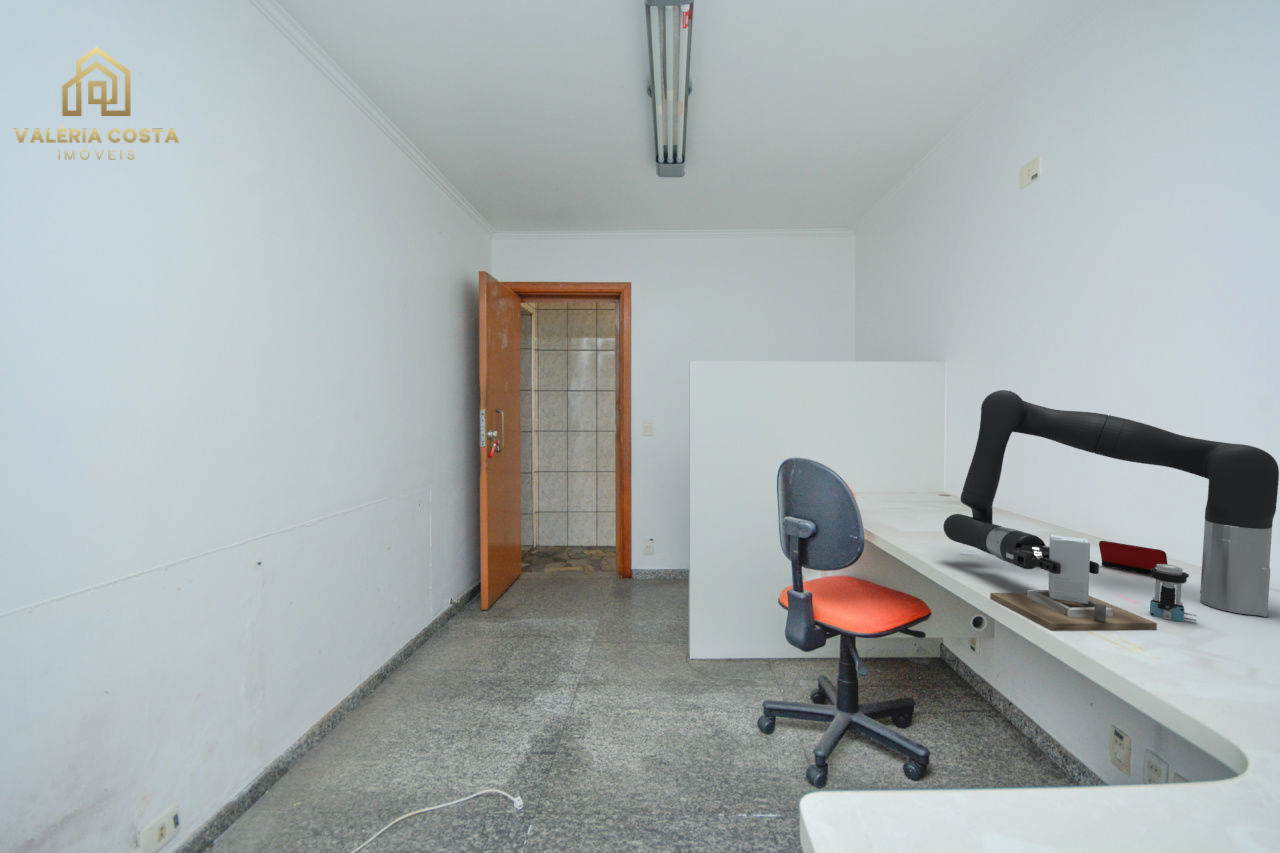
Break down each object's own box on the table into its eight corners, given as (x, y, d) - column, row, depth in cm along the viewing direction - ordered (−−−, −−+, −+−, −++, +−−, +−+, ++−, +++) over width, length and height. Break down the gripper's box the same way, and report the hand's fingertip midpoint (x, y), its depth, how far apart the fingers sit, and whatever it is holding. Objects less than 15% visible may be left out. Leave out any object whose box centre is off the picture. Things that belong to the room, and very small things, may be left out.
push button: (1194, 619, 104) (1198, 568, 104) (1197, 627, 100) (1200, 574, 100) (1147, 610, 109) (1150, 560, 108) (1147, 617, 105) (1150, 566, 104)
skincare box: (1085, 598, 107) (1088, 538, 106) (1088, 605, 103) (1092, 542, 103) (1046, 592, 110) (1049, 533, 110) (1048, 599, 106) (1051, 538, 106)
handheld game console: (1175, 574, 133) (1177, 544, 133) (1164, 582, 127) (1166, 551, 127) (1109, 561, 144) (1111, 534, 143) (1096, 568, 137) (1098, 539, 137)
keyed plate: (1081, 598, 115) (1082, 578, 115) (1156, 629, 99) (1157, 606, 99) (990, 598, 114) (991, 578, 114) (1051, 630, 98) (1052, 607, 98)
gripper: (984, 530, 120) (1043, 549, 104) (1046, 530, 121) (1115, 549, 104) (983, 563, 120) (1041, 588, 104) (1045, 563, 121) (1113, 588, 105)
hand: (1078, 569), depth 104 cm, fingers closed on skincare box, 7 cm apart
